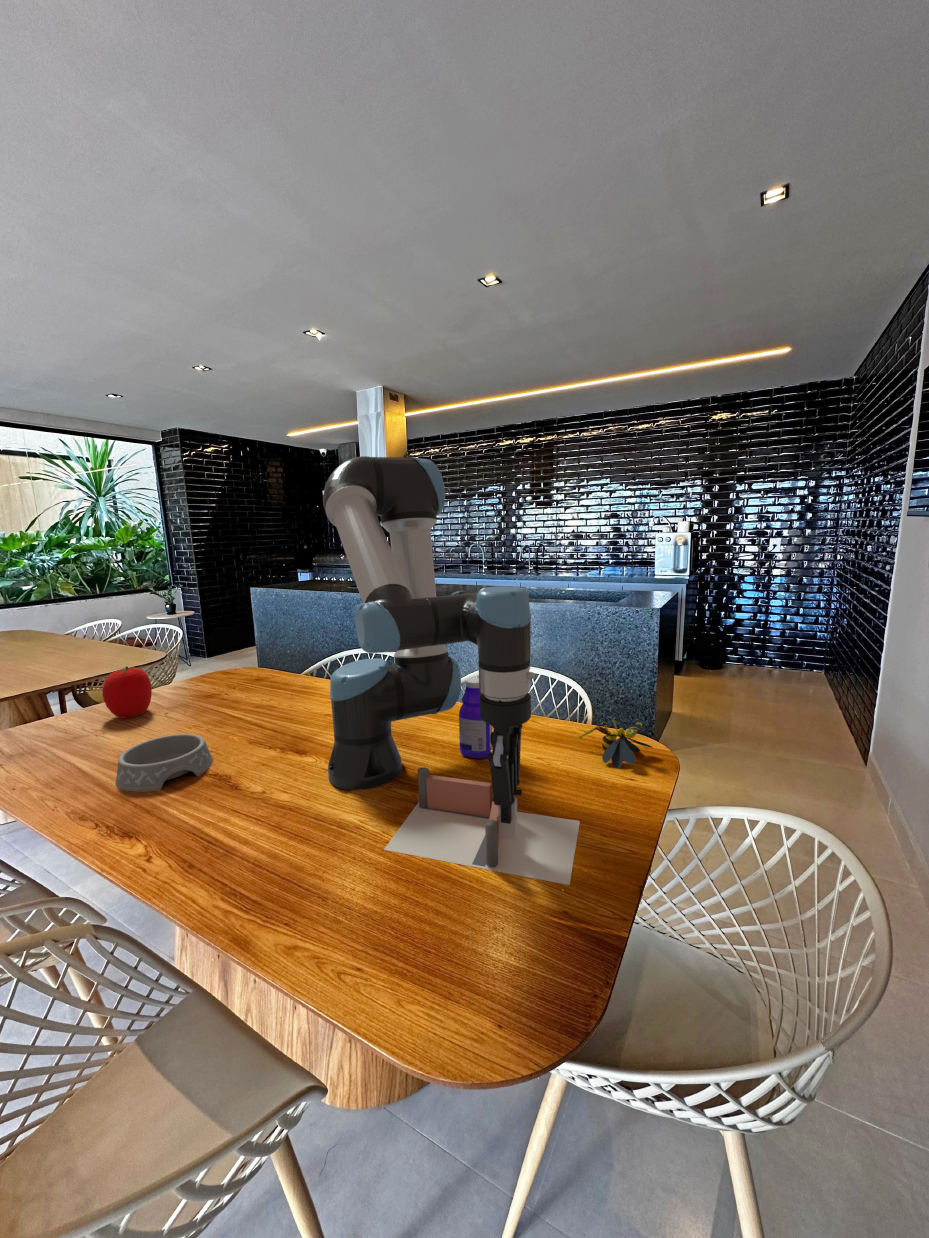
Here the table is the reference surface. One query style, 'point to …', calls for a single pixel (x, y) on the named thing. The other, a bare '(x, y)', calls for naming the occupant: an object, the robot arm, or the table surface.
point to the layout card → (463, 841)
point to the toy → (618, 744)
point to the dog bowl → (161, 761)
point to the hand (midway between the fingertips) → (508, 836)
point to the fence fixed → (454, 794)
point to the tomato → (127, 692)
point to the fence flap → (492, 837)
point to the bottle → (473, 724)
